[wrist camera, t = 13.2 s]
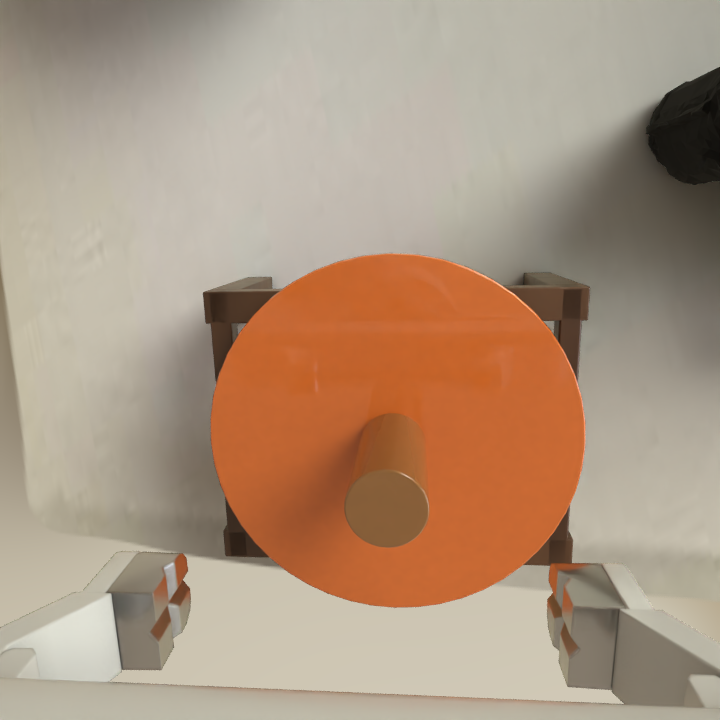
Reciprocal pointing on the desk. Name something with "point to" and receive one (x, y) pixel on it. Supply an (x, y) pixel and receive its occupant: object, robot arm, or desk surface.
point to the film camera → (689, 130)
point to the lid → (398, 430)
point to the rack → (539, 291)
